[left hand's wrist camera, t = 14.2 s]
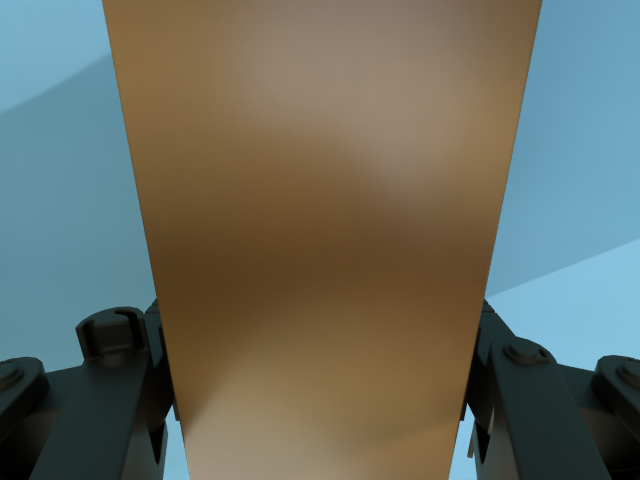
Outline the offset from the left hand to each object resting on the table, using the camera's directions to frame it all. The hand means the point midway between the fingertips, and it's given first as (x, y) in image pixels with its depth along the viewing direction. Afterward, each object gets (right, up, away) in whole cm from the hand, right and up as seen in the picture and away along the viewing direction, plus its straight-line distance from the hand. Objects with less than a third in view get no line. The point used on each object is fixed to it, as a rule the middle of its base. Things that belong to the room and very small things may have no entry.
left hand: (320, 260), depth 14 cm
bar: (0, +23, -8) cm, 25 cm away
